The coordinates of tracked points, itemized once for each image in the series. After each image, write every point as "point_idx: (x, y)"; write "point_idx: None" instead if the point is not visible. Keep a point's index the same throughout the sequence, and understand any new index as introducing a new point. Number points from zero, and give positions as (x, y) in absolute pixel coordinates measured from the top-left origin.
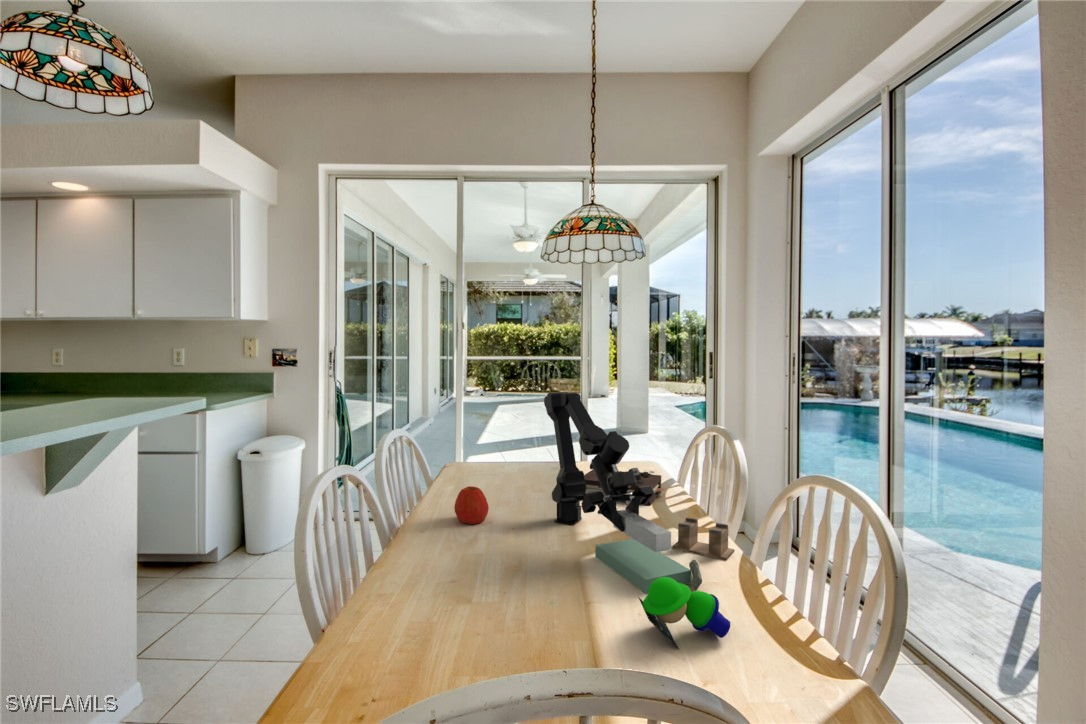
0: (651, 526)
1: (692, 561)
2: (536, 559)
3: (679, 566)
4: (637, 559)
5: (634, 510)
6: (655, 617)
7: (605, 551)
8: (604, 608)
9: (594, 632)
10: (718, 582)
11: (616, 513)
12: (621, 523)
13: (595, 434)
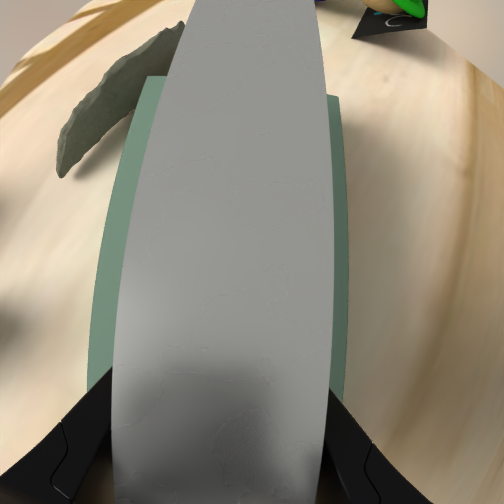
0: (247, 41)
1: (76, 124)
2: (471, 475)
3: (153, 108)
4: None
5: (89, 468)
6: (391, 20)
7: (340, 397)
8: (444, 135)
9: (470, 97)
10: (86, 88)
11: (367, 475)
12: None
13: None
